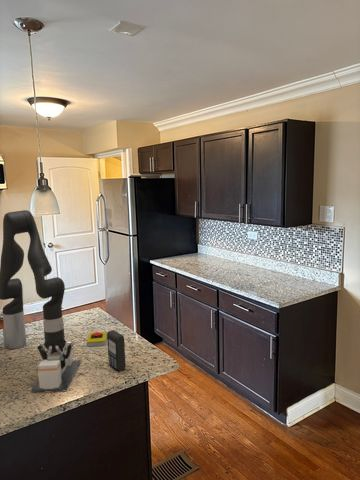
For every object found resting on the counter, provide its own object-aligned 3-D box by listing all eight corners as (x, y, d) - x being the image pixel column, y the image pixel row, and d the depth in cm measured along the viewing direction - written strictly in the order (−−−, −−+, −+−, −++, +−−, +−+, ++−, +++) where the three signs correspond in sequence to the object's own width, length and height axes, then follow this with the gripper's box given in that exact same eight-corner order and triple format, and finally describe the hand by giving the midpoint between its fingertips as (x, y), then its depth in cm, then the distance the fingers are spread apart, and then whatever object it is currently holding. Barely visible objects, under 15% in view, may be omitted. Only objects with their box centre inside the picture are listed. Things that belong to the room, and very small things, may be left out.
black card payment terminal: (107, 364, 154) (105, 331, 151) (115, 361, 156) (113, 328, 154) (118, 372, 147) (116, 338, 144) (126, 369, 149) (124, 335, 147)
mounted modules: (39, 388, 134) (37, 366, 133) (56, 361, 155) (55, 342, 154) (58, 387, 134) (56, 365, 133) (73, 360, 155) (71, 341, 154)
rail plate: (31, 392, 134) (31, 389, 133) (50, 364, 155) (50, 361, 155) (66, 391, 134) (66, 388, 134) (80, 362, 156) (80, 360, 156)
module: (49, 374, 141) (48, 357, 140) (54, 366, 147) (53, 350, 146) (60, 373, 141) (58, 356, 140) (64, 366, 147) (63, 350, 146)
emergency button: (107, 328, 184) (105, 340, 169) (107, 336, 185) (105, 348, 170) (88, 329, 183) (85, 341, 168) (89, 337, 184) (85, 350, 169)
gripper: (32, 332, 138) (35, 373, 140) (69, 330, 138) (72, 372, 141) (39, 324, 145) (42, 364, 148) (74, 323, 146) (77, 363, 148)
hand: (57, 367), depth 144 cm, fingers closed on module, 4 cm apart
